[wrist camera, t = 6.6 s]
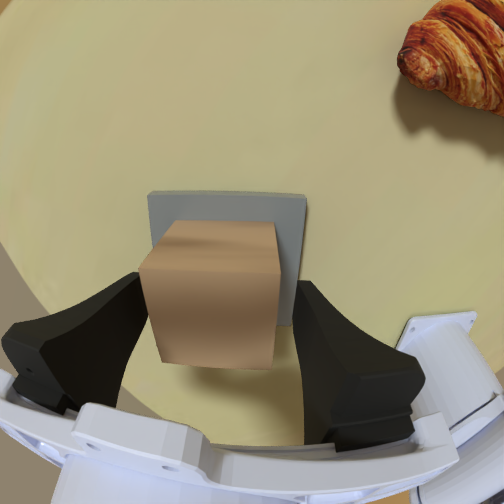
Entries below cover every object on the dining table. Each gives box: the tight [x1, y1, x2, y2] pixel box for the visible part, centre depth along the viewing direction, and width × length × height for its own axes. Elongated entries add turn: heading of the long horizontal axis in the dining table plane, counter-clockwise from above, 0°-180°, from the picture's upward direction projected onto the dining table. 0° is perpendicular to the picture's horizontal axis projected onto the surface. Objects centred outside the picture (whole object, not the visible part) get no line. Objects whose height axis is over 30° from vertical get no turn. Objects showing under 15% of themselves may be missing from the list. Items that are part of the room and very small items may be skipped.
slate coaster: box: [147, 191, 307, 326], centre depth 15 cm, size 8×8×1 cm
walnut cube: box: [138, 220, 281, 370], centre depth 12 cm, size 5×5×5 cm
